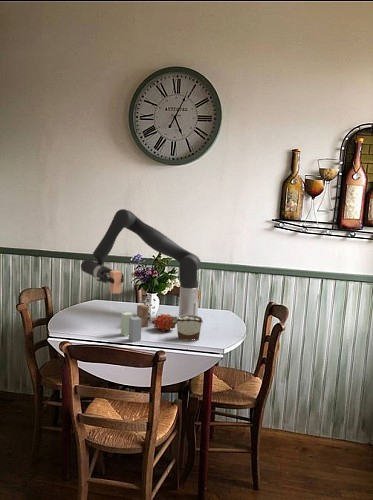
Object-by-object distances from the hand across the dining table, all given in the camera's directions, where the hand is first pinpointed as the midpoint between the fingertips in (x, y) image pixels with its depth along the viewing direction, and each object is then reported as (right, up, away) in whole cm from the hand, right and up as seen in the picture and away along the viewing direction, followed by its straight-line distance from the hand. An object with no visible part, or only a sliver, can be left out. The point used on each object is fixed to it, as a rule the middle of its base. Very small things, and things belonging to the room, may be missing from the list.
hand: (118, 281), depth 216 cm
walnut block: (+10, -22, +8) cm, 26 cm away
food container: (+33, -26, -5) cm, 42 cm away
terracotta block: (-2, -6, +3) cm, 7 cm away
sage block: (+5, -24, -5) cm, 25 cm away
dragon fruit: (+21, -24, +3) cm, 32 cm away
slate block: (+9, -25, -12) cm, 29 cm away
